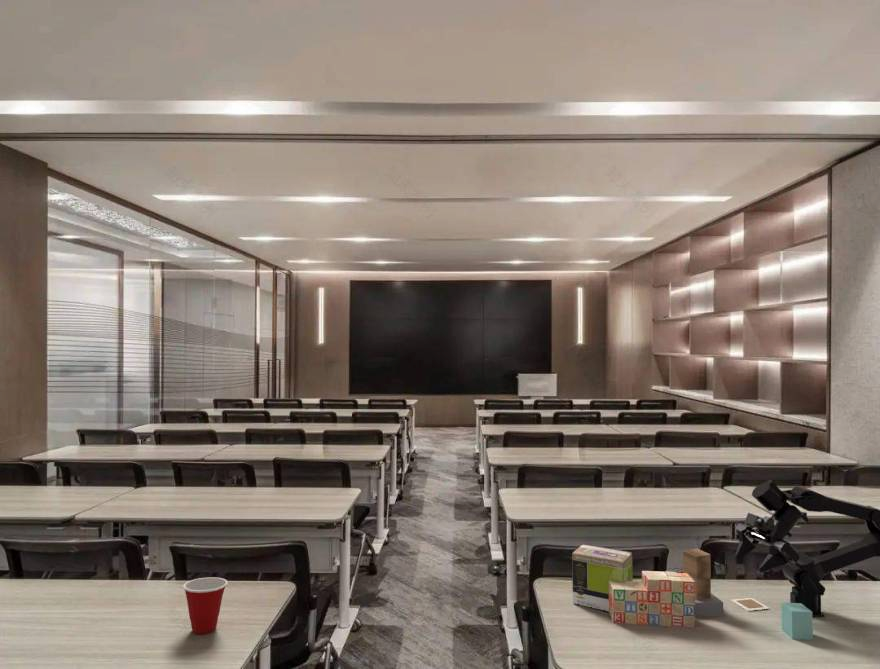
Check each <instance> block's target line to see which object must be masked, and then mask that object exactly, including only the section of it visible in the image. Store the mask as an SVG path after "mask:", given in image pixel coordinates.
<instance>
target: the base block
mask: <svg viewBox="0 0 880 669" xmlns="http://www.w3.org/2000/svg"><path fill="white" fill-rule="evenodd" d="M710 616H711V617H715V616H716V617H717V616H718V617H719V616H724V602H723V601H722V600H721V599H720V598H719V597H717V596H716V595H715V594H714V593H712V592H711V597H709V598H704V599H699V600H696V599H695V617H710Z"/></svg>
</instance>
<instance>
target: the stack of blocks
mask: <svg viewBox="0 0 880 669" xmlns="http://www.w3.org/2000/svg"><path fill="white" fill-rule="evenodd" d="M609 613H610V614H609ZM608 614H609V616H611V617H610V619H611V618H612V619H611V621H612V620H613V621H612V623H613V622H621V623H620V624H626V623H632V624H631V625H648V626H649V625H650V626H652V625H653V626H666V627H667V626H668V627H669V626H670V627H671V626H672V627H685V628H686V627H687V628H696V616H695V581H694V580H693V579H692V578H691V577H690V576H689V575H688V574H687V573H683V572H676V571H667V570H666V571H665V570H664V571H655V570H654V571H652V570H641V581H634V580H633V581H626V582H625V583H620V582H614V581H609V611H608ZM622 622H623V623H622Z"/></svg>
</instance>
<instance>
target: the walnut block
mask: <svg viewBox="0 0 880 669" xmlns="http://www.w3.org/2000/svg"><path fill="white" fill-rule="evenodd" d="M682 553H683V556H682V557H683V560H682V561H683V564H682V565H683V566H682V567H683V569H682V570H683V572H682V573H687V574H688V575H689V576H690V577H691V578H692V579H693V580H694V581H695V599H696V600H699V599H704V598H709V597H711V593H712V592H711V591H712V588H711V587H712V586H711V582H712V581H711V580H712V579H711V578H712V576H711V575H712V573H711V571H712V570H711V567H712V566H711V565H712V564H711V553H708V552H706V551H704V550H701V549H700V548H692V549H684V550H683V552H682Z"/></svg>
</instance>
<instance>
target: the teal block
mask: <svg viewBox="0 0 880 669" xmlns="http://www.w3.org/2000/svg"><path fill="white" fill-rule="evenodd" d="M813 625H814V624H813V616H812V611H810V610H809V609H808V608H807V607H805V606H804V605H803V604H801V603H790V602H781V630H782V631H783V633H785V634H786V635H787V636H788V637H789V638H790V639H792V640H802V639H809V640H808V641H813V640H814V636H813V634H814V633H813V630H814V629H813V628H814V627H813Z"/></svg>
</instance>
